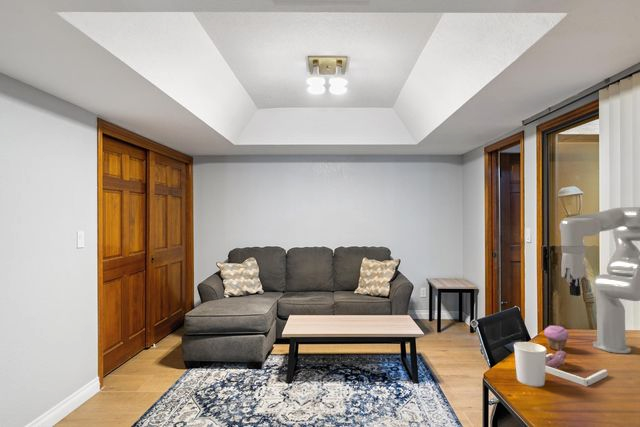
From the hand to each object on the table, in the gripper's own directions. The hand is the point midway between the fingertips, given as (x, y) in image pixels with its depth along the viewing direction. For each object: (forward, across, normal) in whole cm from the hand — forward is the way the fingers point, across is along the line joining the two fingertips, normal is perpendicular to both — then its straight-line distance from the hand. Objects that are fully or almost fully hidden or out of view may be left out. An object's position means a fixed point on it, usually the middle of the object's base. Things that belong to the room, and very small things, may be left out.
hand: (575, 295), depth 144 cm
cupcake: (+26, -3, -9) cm, 27 cm away
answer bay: (+24, +18, +4) cm, 30 cm away
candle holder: (+24, +37, 0) cm, 44 cm away
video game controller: (+25, +16, -1) cm, 30 cm away
